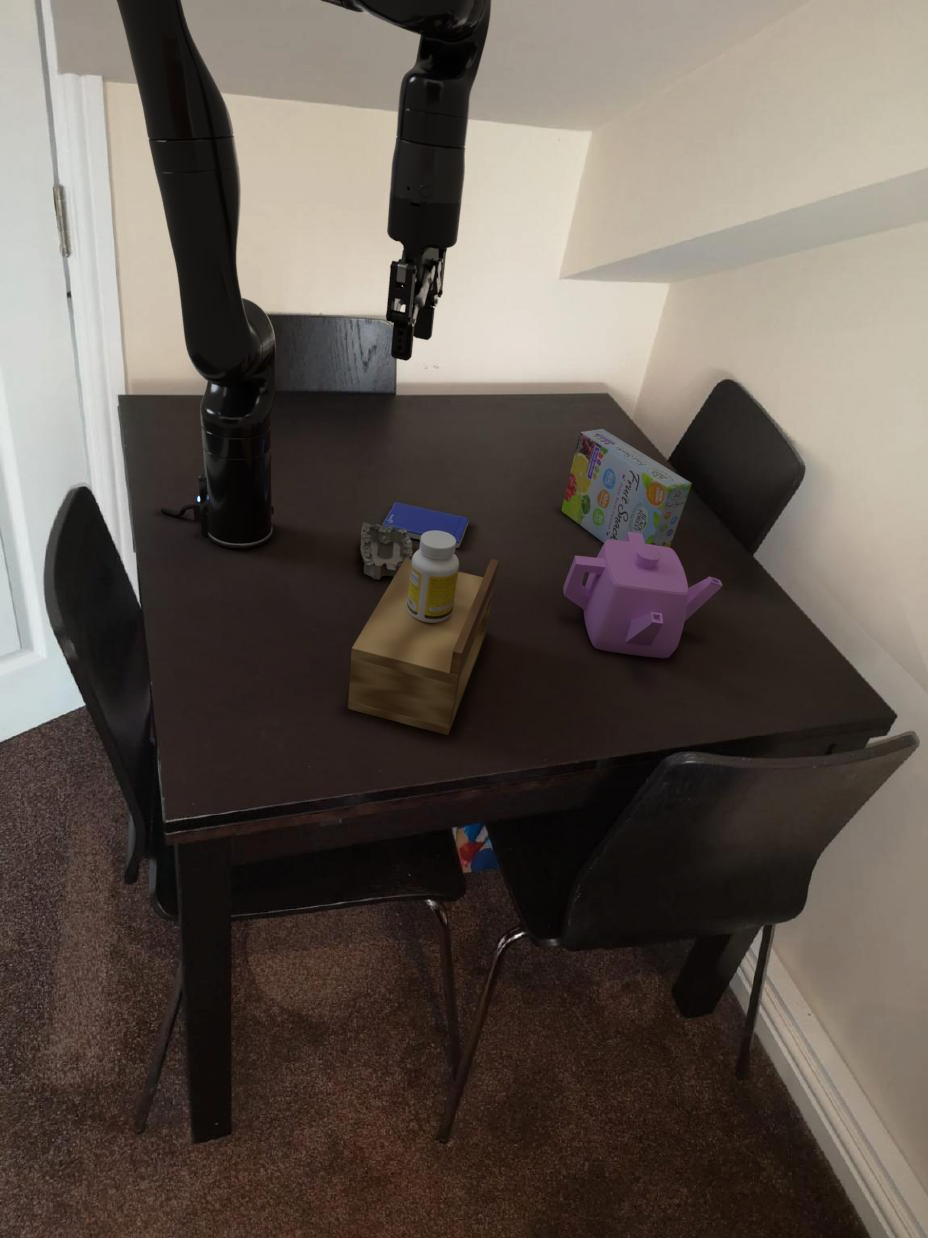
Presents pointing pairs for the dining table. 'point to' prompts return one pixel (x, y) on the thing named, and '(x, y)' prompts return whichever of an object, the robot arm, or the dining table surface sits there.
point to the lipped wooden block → (420, 654)
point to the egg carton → (384, 549)
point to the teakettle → (635, 597)
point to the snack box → (622, 491)
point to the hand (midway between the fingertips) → (411, 347)
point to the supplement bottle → (433, 578)
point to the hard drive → (425, 521)
